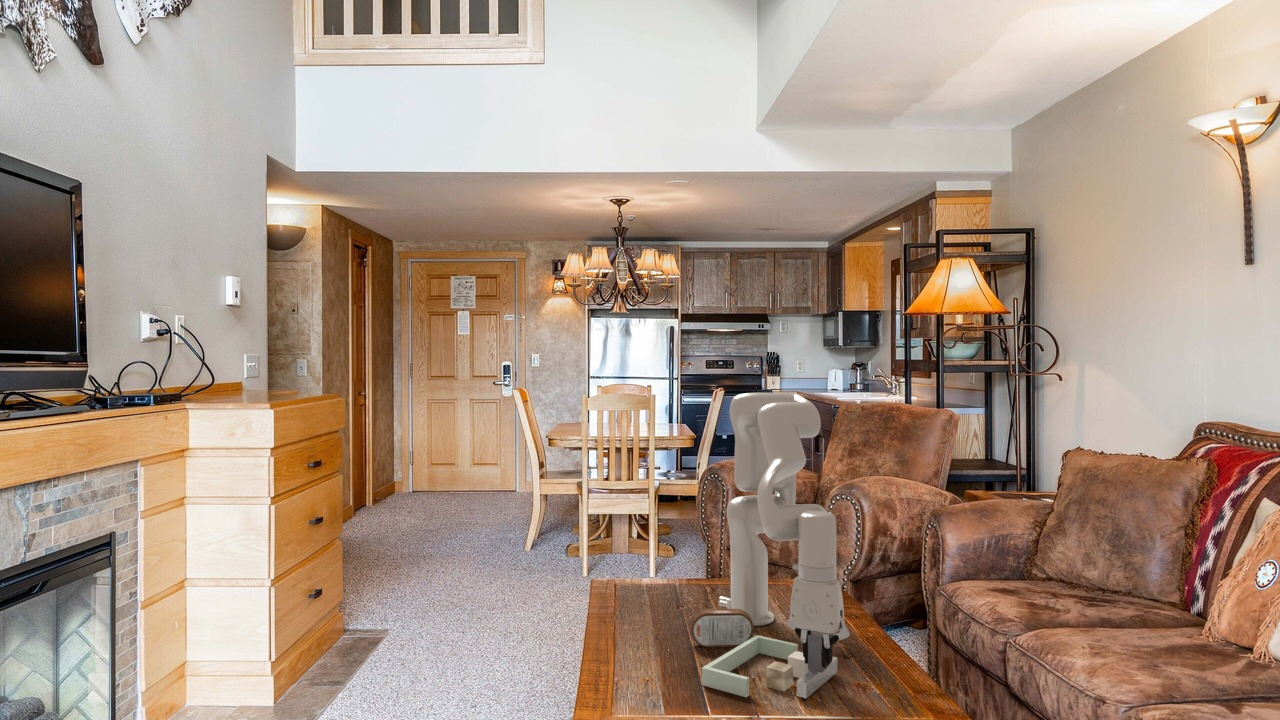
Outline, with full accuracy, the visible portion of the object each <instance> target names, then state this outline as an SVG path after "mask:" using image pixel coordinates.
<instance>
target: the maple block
mask: <svg viewBox="0 0 1280 720" xmlns="http://www.w3.org/2000/svg"><path fill="white" fill-rule="evenodd" d="M765 678H766V679H765V687H766V688H769V689H773V690H777V691H781V692H786V691H787V690H788V689H790V688H791V687H792V686H793V685H794V678H793V666H792V665H788V663H787V664H786V663H783V662H779V661H775V660H774V661H773V662H772V663H771V664H768V665H767V666H766V667H765Z"/></svg>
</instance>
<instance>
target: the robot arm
mask: <svg viewBox="0 0 1280 720" xmlns="http://www.w3.org/2000/svg"><path fill="white" fill-rule="evenodd" d="M729 417H730V422H731V426H732V429H733V433H734V441H735V442H734V466H733V467H734V469H733V475H734V476H733V477H734V478H733V479H734V485H735V487H736V488H737V489H738V490H739V491H741V492H745V493H747V492H748V493H757V494H756V495H754V494H753V495H741V496H736V497H734V498H732V499H731V500H729V502H728V504H727V507H726V519H727V524H728V532H729V542H730V543H729V545H730V598H729V597H726V596H719V599H718V606H719V607H725V609H741V610H743V611H745V612H747V613H748V614H749V616H750V617H751V619H752V622H753V625H754V627H759V626H761V627H762V626H767V625H769V624H771V623H773V622H774V619H775V614H774V613H773V612H772V611H770V610H769V594H768V593H769V576H768V575H769V569H768V566H769V564H768V563H769V561H768V559H769V558H768V557H769V556H768V555H769V554H768V549H767V546H766V545H765V544H764V542H763V541H762V539H761V538H760V537H759V534H765V535H766V537H767V538H769V540H772V541H774V542H785V541H787V542H788V541H789V542H790V541H797V542H798V545H797V546H798V547H797V549H798V562H797V563H793V564H792V570H794V571H796V572H797V576H795V577H794V578H793V579H794V580H793V584H792V589H791V597H790V598H791V599H790V606H789V607H790V610H789V618H788V620H787V622H786V625H787V627H789V628H791V630H793V631H794V632H795V633H796V634H797V636H798V637H799V638H800V642H801V643H802V653H803V657H805V663H806V664H808V634H810V633H811V632H812V631H813V632H817V633H822V634H823V639H824V647H823V648H822V649H821V662H822V667H823V668H826V667H827V666H828V665H830V663H831V662H832V659H833V657H834V656H833V646H834V645H835V644H836V643H837V642H839V641H842V640H845V639H847V638H848V637H849V638H850V635H851V634H850V631H849V629H848V627H847V625H846V622H845V610H844V600H843V599H844V598H843V593H842V592H843V591H842V587H841V583H840V580H838V579H837V519H836V516H835V515H834V514H833V513H832V512H829V511H827V510H826V509H825V507H824V506H822V505H820V504H818V503H817V504H815V503H803V504H802V503H801V504H799V503H796V500H797V473H798V472H800V471H801V470H802V469H804V467H805V465H806V463H807V457H806V453H805V450H804V447H803V443H802V440H801V439H811V438H812V439H813V438H815V437H816V436H818V435H819V434H820V430H821V428H822V427H821V426H822V425H821V424H822V422H821V417H820V413H819V410H818V409H817V407H816V406H815V404H813V402H811V401H810V400H809V399H807V398H805V397H803V396H801V395H800V394H798V393H794V392H746V393H739V394H736V395H734V397H733V398H732V399H731V402H730V404H729ZM773 492H774V494H773Z"/></svg>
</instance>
